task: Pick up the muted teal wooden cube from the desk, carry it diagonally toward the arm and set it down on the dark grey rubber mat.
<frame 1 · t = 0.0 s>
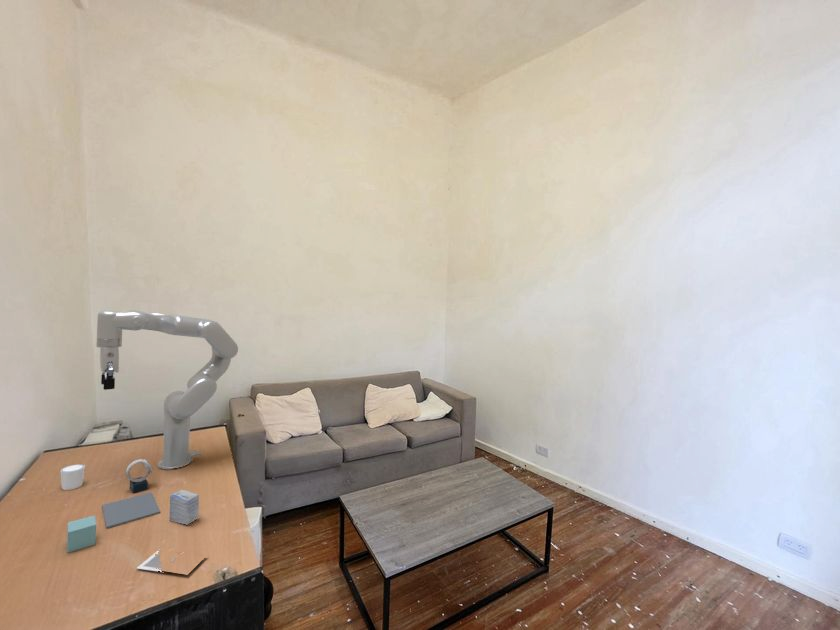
hand: (107, 386, 144), 37 cm above the table, tool pointing down, fingers open, 9 cm apart
mat: (131, 509, 127), on the table
white cylinder: (72, 486, 139), on the table
medicine box: (183, 520, 123), on the table
cube: (81, 543, 109), on the table
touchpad: (172, 566, 103), on the table
watch: (138, 489, 140), on the table
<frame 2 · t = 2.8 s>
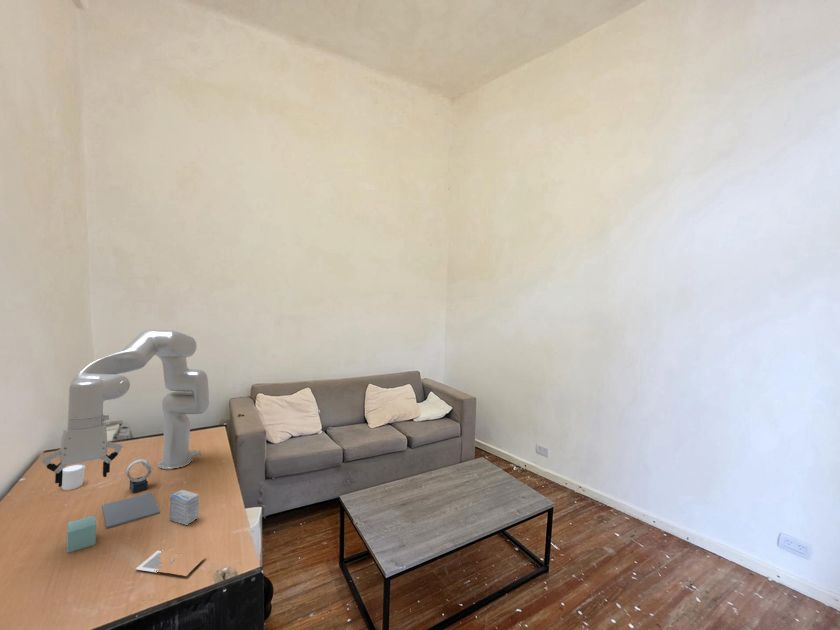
hand: (83, 479, 108), 19 cm above the table, tool pointing down, fingers open, 9 cm apart
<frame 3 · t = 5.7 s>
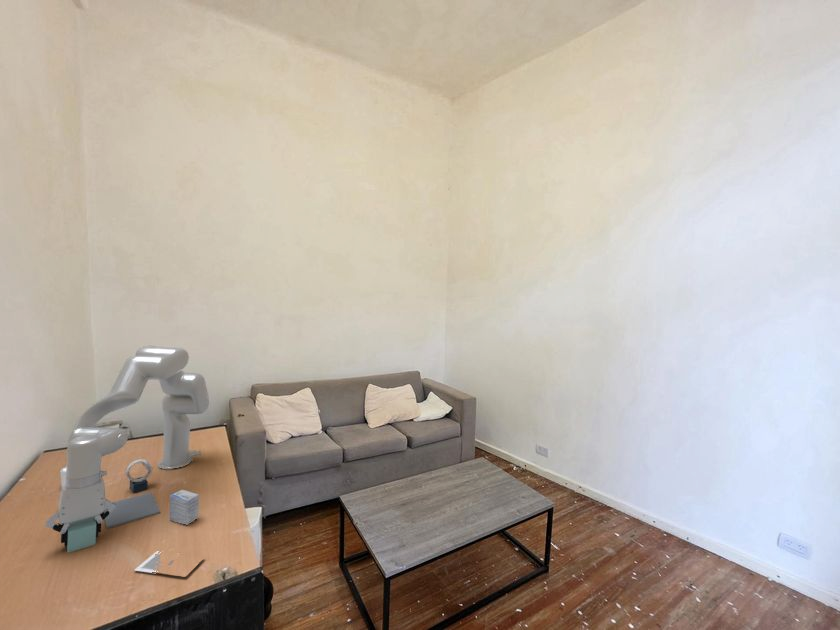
hand: (81, 538, 109), 1 cm above the table, tool pointing down, fingers closed on cube, 5 cm apart
cube: (81, 543, 109), on the table, touching gripper
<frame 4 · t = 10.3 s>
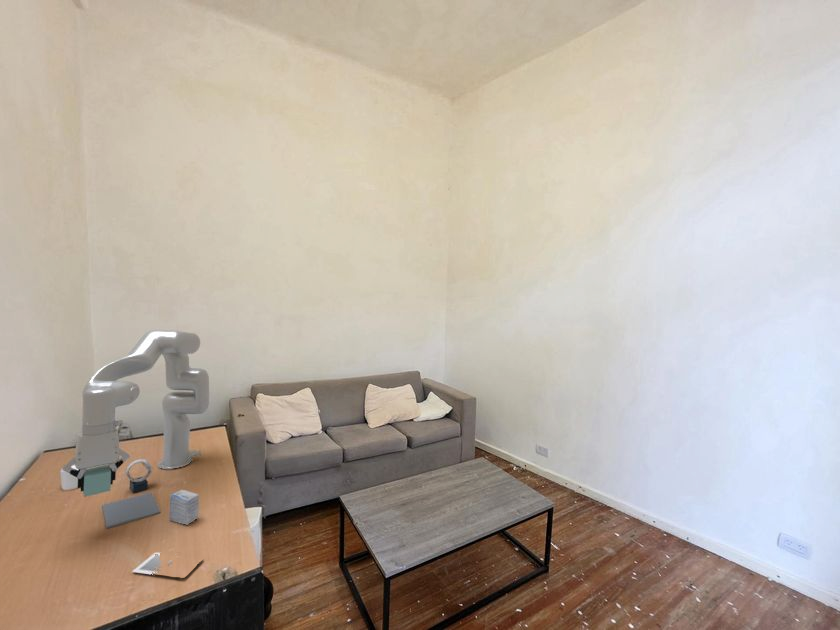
hand: (96, 485, 113), 15 cm above the table, tool pointing down, fingers closed on cube, 5 cm apart
cube: (96, 489, 113), point 14 cm above the table, touching gripper
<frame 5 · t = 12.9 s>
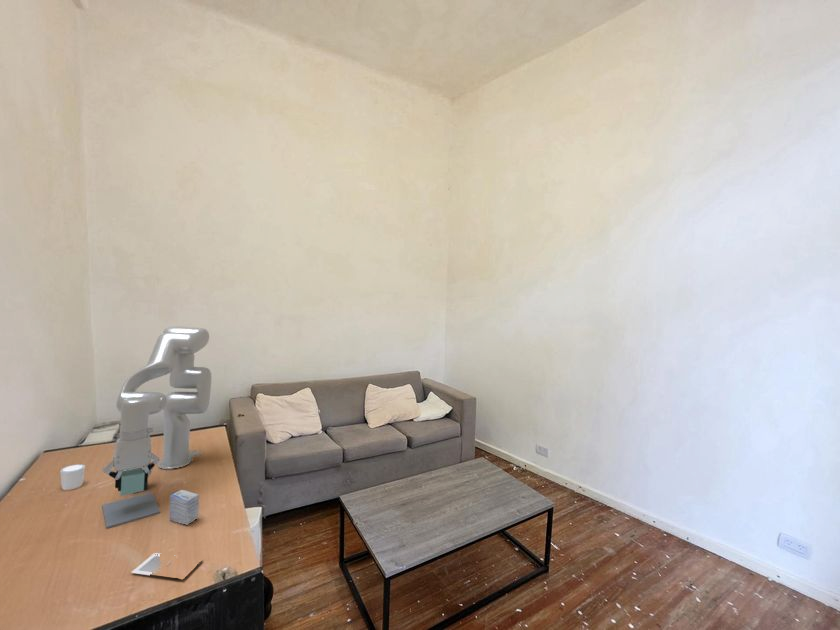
hand: (131, 486, 126), 8 cm above the table, tool pointing down, fingers closed on cube, 5 cm apart
cube: (131, 489, 126), point 7 cm above the table, touching gripper
when the fingers open (3 cm above the table, at t = 15.1 s): cube stays where it is, resting on mat.
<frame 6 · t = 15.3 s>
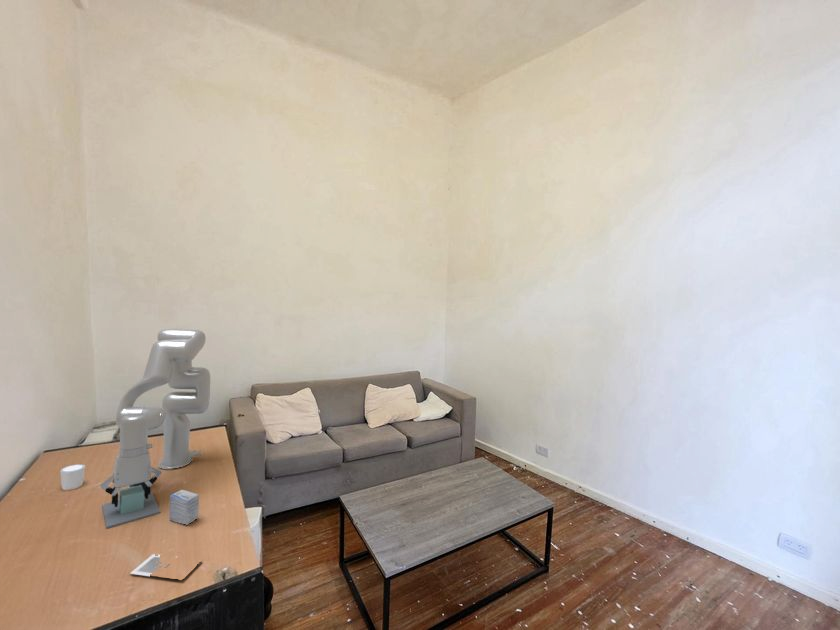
hand: (131, 500, 126), 3 cm above the table, tool pointing down, fingers open, 7 cm apart
cube: (131, 508, 127), point 1 cm above the table, touching mat
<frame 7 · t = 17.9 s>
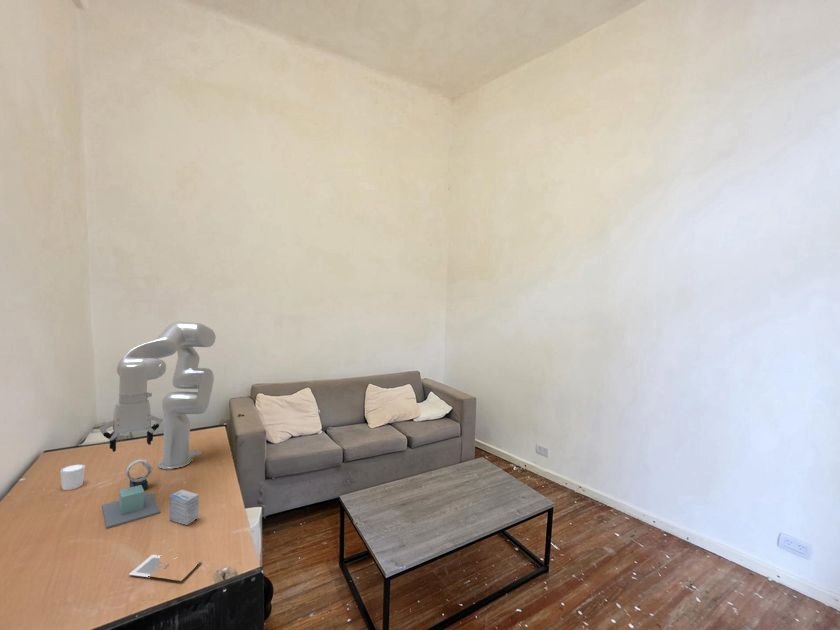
hand: (131, 446, 128), 21 cm above the table, tool pointing down, fingers open, 9 cm apart
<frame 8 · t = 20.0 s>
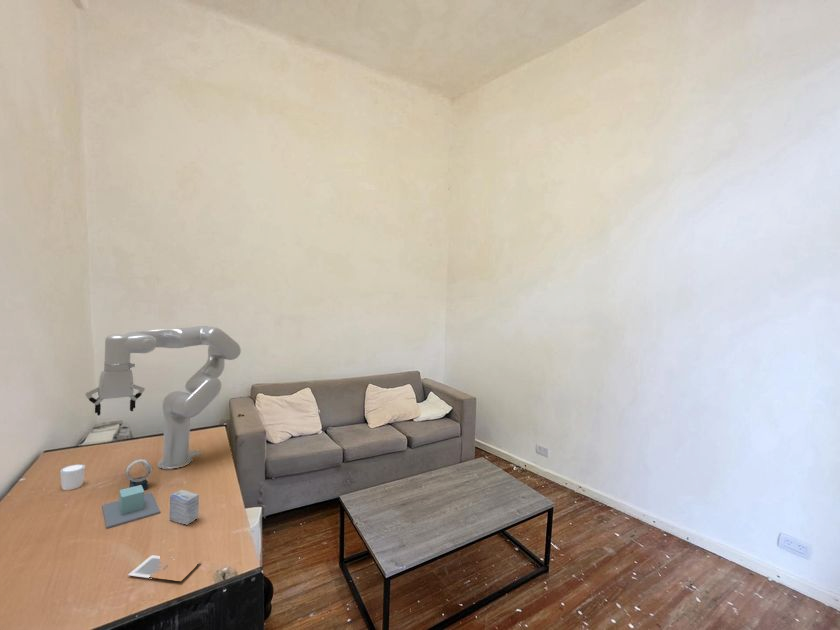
hand: (115, 412, 140), 28 cm above the table, tool pointing down, fingers open, 9 cm apart
at the end: cube inside the target area on the mat (0.0 cm from its centre), point 0.6 cm above the mat's base; cube tilted 0°; the gripper is holding nothing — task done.
